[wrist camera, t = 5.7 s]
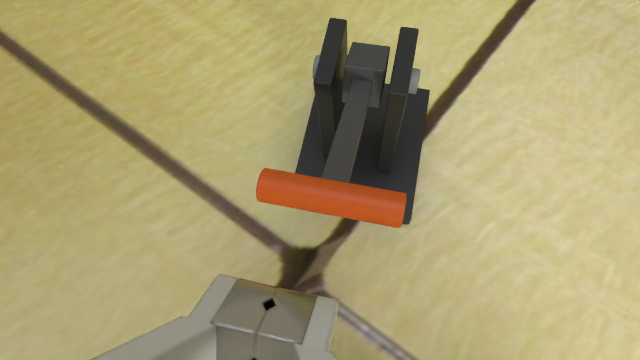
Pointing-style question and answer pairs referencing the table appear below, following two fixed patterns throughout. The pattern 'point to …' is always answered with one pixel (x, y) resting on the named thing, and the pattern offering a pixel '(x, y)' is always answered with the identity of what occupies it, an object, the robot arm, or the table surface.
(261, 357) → the robot arm
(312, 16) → the table surface
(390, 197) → the switch
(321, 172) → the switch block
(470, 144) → the table surface
